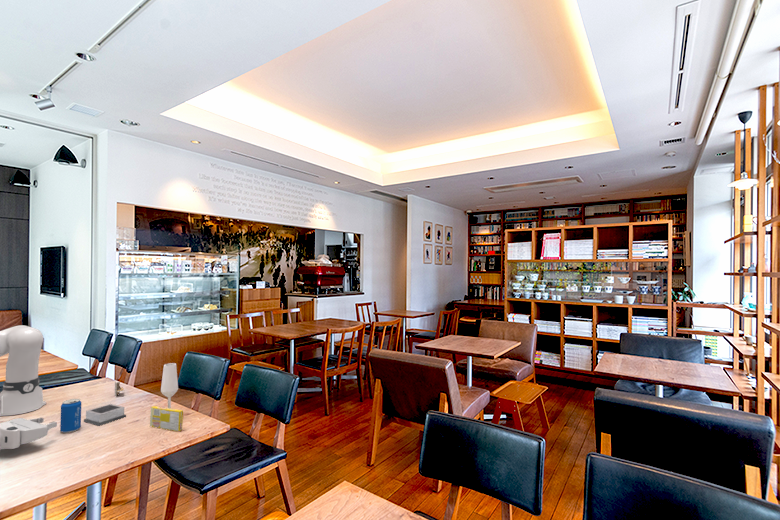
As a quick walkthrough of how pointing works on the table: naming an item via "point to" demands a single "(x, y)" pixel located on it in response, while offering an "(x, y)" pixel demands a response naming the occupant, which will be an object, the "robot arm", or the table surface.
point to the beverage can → (70, 415)
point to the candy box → (166, 418)
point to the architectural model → (118, 388)
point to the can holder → (104, 414)
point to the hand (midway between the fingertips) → (49, 421)
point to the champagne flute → (169, 381)
